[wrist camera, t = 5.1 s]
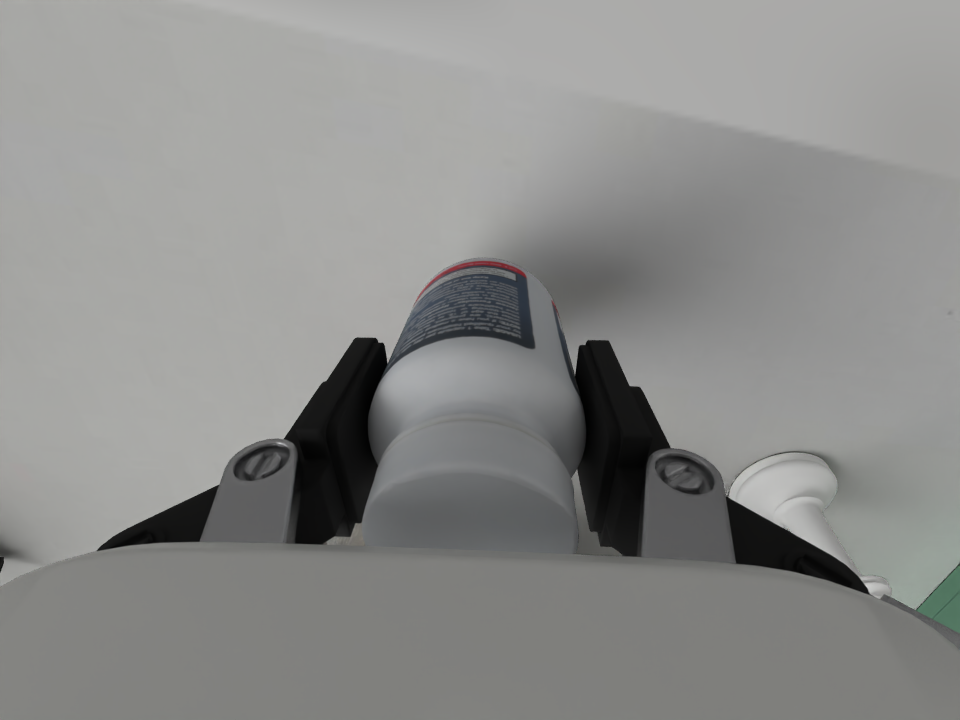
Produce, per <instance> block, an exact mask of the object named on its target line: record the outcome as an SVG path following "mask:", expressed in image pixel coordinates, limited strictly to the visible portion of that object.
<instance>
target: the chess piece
mask: <svg viewBox="0 0 960 720" xmlns="http://www.w3.org/2000/svg"><path fill="white" fill-rule="evenodd" d="M837 488H838V483H837V479H836V476H835V475H834V473H833V472H832V471H831V470H830V468H829V466H828V465H827V463H826V462H825V461H823V460H822V459H821V458H819V457H817V456H814V455H811V454H807V453H783V454H778V455H774V456H771V457H768V458H765V459H763V460H760V461H758V462H756V463H754V464H753V465H751V466H750V467H748V468H747V469H745V470H744V471H743V472H742V473H741V474H740V475H739V476H738V477H737V478H736V480H735V481H734V482H733V484H732V486H731V489H730V493H729V498H730V499H732V500H734V501H735V502H737V503H739V504H741V505H743V506H744V507H746V508H748V509H750V510H751V511H753V512H755V513H757V514H759V515H760V516H762V517H764V518H766V519H768V520H769V521H771V522H773V523H775V524H777V525H778V526H780V527H784V528H788V529H789V530H790V531H791V532H792V533H793V534H795V535H796V536H798V537H800V538H802V539H803V540H805V541H807V542H809V543H811V544H812V545H814V546H816V547H818V548H820V549H821V550H823V551H825V552H827V553H829V554H830V555H832V556H833V557H835V558H836V559H838V560H839V561H841V562H843V563H844V564H845V565H847V566H848V567H849V568H850V569H851V570H852V571H853V572H854V573H855V574H856V575H858V577H859V578H860V579H861V581H862V582H863V583H864V584H865V586H866V587H867V588H868V591H869V593H870V594H871V595H872V596H874V597H876V598H878V599H880V598H881V597H882V596H883V595H884V594H885V595H887V596H889V597H890V596H891V594H892V589H891V587H890V586H889V583H888V581H887V580H886V579H884V578H882V577H879V576H874V575H864V576H862V574H861V573H860V571H859V570H858V568H857V567H856V565H855V564H854V562H853V561H852V559H851V558H850V557H849V555H848V554H847V552H846V550H845V549H844V547H843V546H842V544H841V543H840V541H839V540H838V538H837V537H836V535H835V533H834V532H833V530H832V529H831V527H830V526H829V524H828V522H827V521H826V519H825V517H824V516H823V514H822V513H823V511H824V509H825V508H827V507H828V505H829V504H830V503H831V502H832V501H833V499H834V497H835V495H836V492H837Z"/></svg>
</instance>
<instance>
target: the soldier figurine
mask: <svg viewBox="0 0 960 720" xmlns="http://www.w3.org/2000/svg"><path fill="white" fill-rule="evenodd" d="M3 564H4V557H0V572H1V569H2V566H3Z"/></svg>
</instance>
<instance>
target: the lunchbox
mask: <svg viewBox="0 0 960 720" xmlns="http://www.w3.org/2000/svg"><path fill="white" fill-rule="evenodd" d="M916 611H918V612H920V613H922V614H923V615H925V616H927V617H929V618H931V619H933V620H935V621H937V622H939V623H941V624H943V625H944V626H946V627H948V628H950V629H952V630H954V631H956V632H958V633H960V565H959V566H958V567H957V568H956V569H955V570H954V571H953V572H952V573H951V574H950V575H949V576H948V577H947V578H946V579H945V580H944V582H943V583H942V584H941V585H940V586H939V587H938V588H937V589H936V590H935V591H934V592H933V593H932V594H931V595H930V596H929V597H928V598H927V600H926V601H925V602H924V603H923V604H922V605H921V606H920V607H919V608H918V609H917V610H916Z"/></svg>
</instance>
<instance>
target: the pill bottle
mask: <svg viewBox="0 0 960 720" xmlns="http://www.w3.org/2000/svg"><path fill="white" fill-rule="evenodd" d="M368 438H369V443H370V447H371V451H372V454H373V456H374V458H375V460H376V462H377V464H378V468H377V471H376V474H375V478H374V482H373V485H372V488H371V491H370V494H369V497H368V500H367V503H366V506H365V510H364V514H363V519H362V536H363V540H364V543H365V546H378V547H405V548H432V549H459V550H485V551H510V552H534V553H557V554H576V551H577V547H578V539H579V534H578V524H577V516H576V509H575V503H574V489H573V484H572V480H571V478H572V476H573V475H574V473H575V471H576V470H577V468H578V466H579V464H580V461H581V459H582V457H583V453H584V449H585V444H586V420H585V414H584V408H583V403H582V400H581V396H580V393H579V389H578V385H577V382H576V378H575V374H574V370H573V366H572V363H571V359H570V356H569V352H568V348H567V344H566V340H565V336H564V333H563V329H562V325H561V322H560V318H559V314H558V311H557V309H556V306H555V304H554V301H553V299H552V297H551V296H550V294H549V292H548V291H547V289H546V288H545V287H544V285H543V284H542V283H541V282H540V281H539V280H538V279H537V278H536V277H535V276H533V275H532V274H531V273H529V272H528V271H527V270H525V269H523V268H521V267H520V266H518V265H515V264H513V263H510V262H508V261H504V260H500V259H494V258H474V259H469V260H464V261H461V262H458V263H455V264H453V265H451V266H449V267H447V268H445V269H443V270H442V271H440V272H439V273H438V274H436V275H435V276H434V277H433V278H432V279H431V280H430V281H429V282H428V283H427V284H426V285H425V287H424V288H423V289H422V291H421V293H420V294H419V296H418V298H417V300H416V302H415V304H414V306H413V309H412V311H411V313H410V316H409V318H408V320H407V322H406V324H405V327H404V329H403V331H402V334H401V336H400V338H399V340H398V342H397V344H396V347H395V349H394V351H393V353H392V356H391V358H390V360H389V362H388V364H387V366H386V369H385V371H384V373H383V375H382V378H381V380H380V382H379V384H378V387H377V389H376V392H375V394H374V397H373V400H372V403H371V406H370V410H369V415H368Z"/></svg>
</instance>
